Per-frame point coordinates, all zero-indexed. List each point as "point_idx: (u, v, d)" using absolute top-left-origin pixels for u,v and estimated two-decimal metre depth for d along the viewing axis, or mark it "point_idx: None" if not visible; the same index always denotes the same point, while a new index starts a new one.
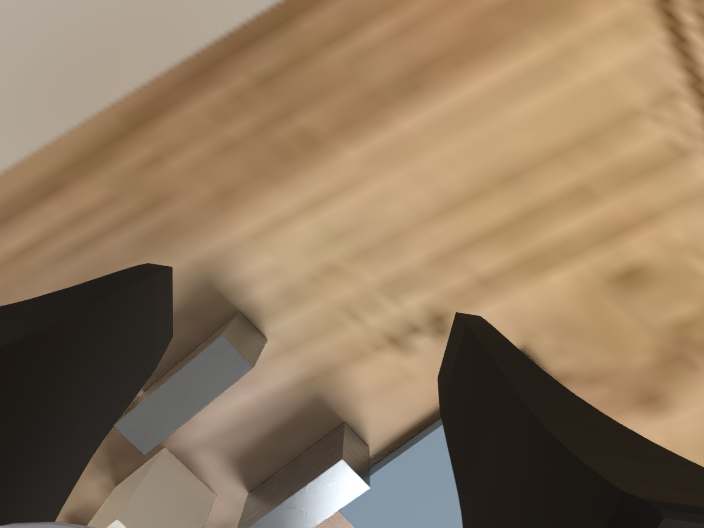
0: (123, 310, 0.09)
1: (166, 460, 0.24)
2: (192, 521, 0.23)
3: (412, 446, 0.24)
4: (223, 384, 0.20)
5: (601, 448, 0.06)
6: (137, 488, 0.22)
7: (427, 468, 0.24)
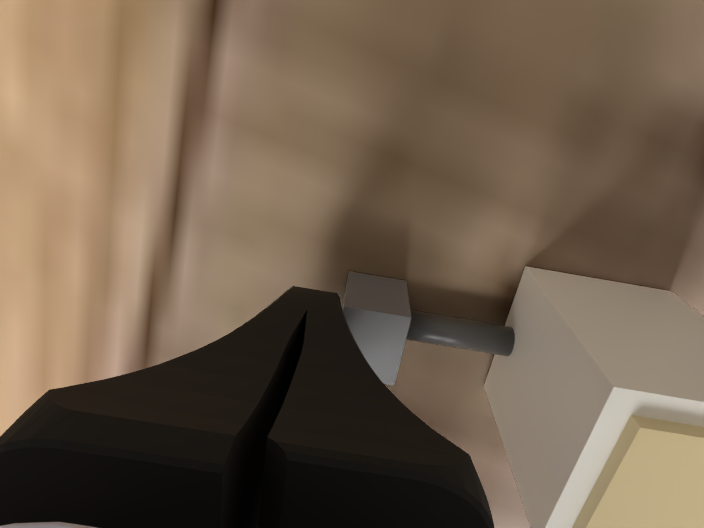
0: (299, 338, 0.09)
1: None
2: None
3: None
4: None
5: (325, 406, 0.06)
6: None
7: None
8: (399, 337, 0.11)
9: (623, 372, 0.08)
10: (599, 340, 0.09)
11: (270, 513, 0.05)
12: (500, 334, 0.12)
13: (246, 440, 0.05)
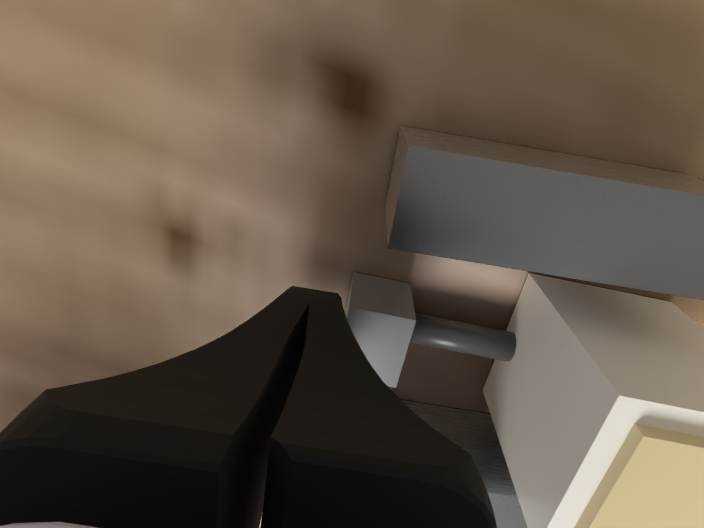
0: (297, 337, 0.09)
1: None
2: None
3: None
4: (661, 280, 0.09)
5: (329, 406, 0.06)
6: None
7: None
8: (403, 339, 0.11)
9: (627, 381, 0.08)
10: (604, 348, 0.09)
11: (273, 513, 0.05)
12: (502, 339, 0.12)
13: (243, 439, 0.05)
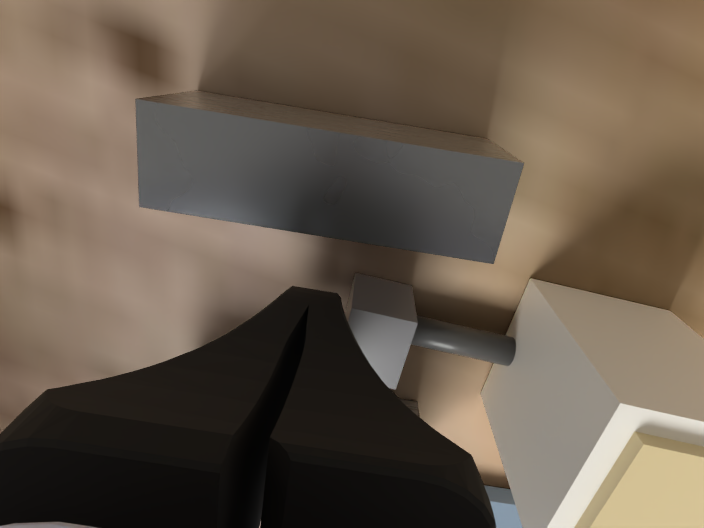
0: (297, 337, 0.09)
1: None
2: None
3: None
4: (416, 238, 0.09)
5: (328, 406, 0.06)
6: None
7: None
8: (404, 342, 0.11)
9: (628, 389, 0.08)
10: (604, 355, 0.09)
11: (273, 513, 0.05)
12: (502, 344, 0.12)
13: (244, 440, 0.05)
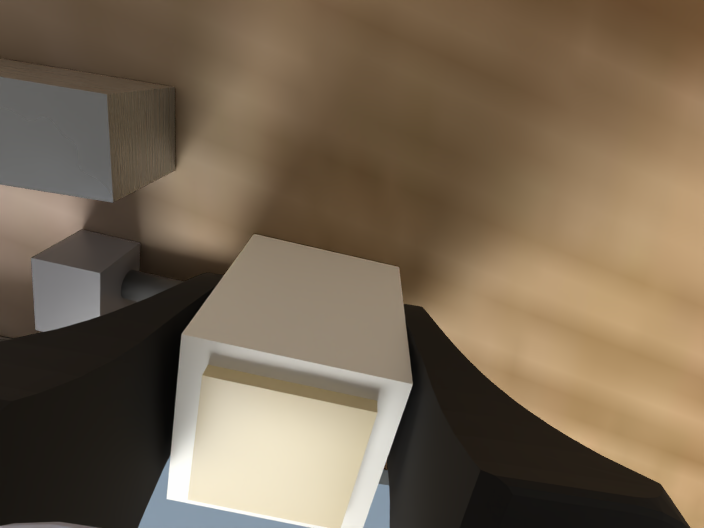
0: None
1: None
2: None
3: None
4: (29, 176, 0.09)
5: (491, 431, 0.06)
6: (402, 325, 0.10)
7: None
8: (93, 293, 0.11)
9: (214, 324, 0.08)
10: (235, 297, 0.09)
11: None
12: None
13: (54, 411, 0.05)
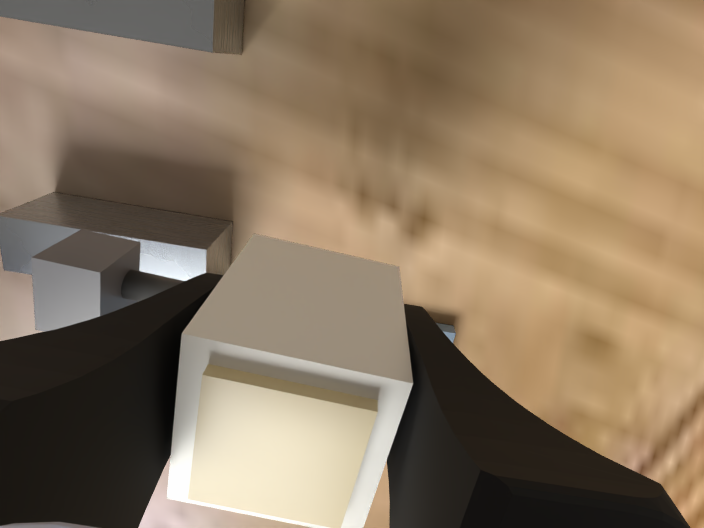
0: None
1: None
2: None
3: None
4: (155, 32, 0.13)
5: (490, 431, 0.06)
6: (402, 324, 0.10)
7: None
8: (93, 292, 0.11)
9: (214, 323, 0.08)
10: (235, 296, 0.09)
11: None
12: None
13: (55, 410, 0.05)
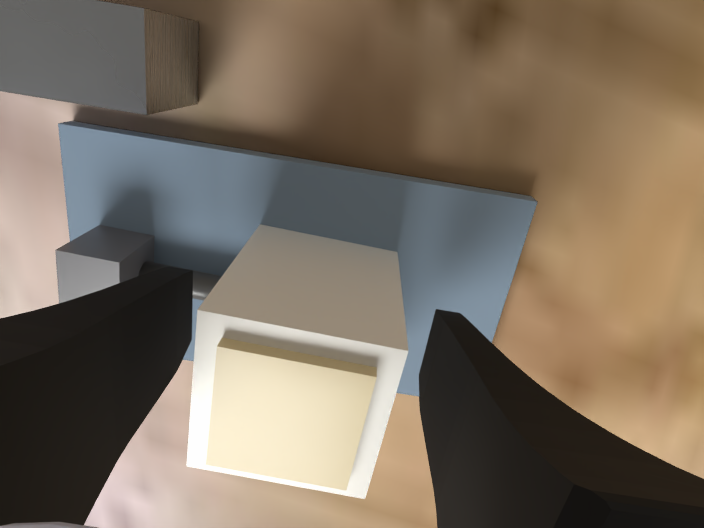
0: (148, 314, 0.09)
1: None
2: None
3: (265, 158, 0.12)
4: None
5: (562, 442, 0.06)
6: (400, 302, 0.10)
7: (253, 210, 0.13)
8: (113, 282, 0.12)
9: (226, 301, 0.09)
10: (244, 278, 0.10)
11: None
12: None
13: None
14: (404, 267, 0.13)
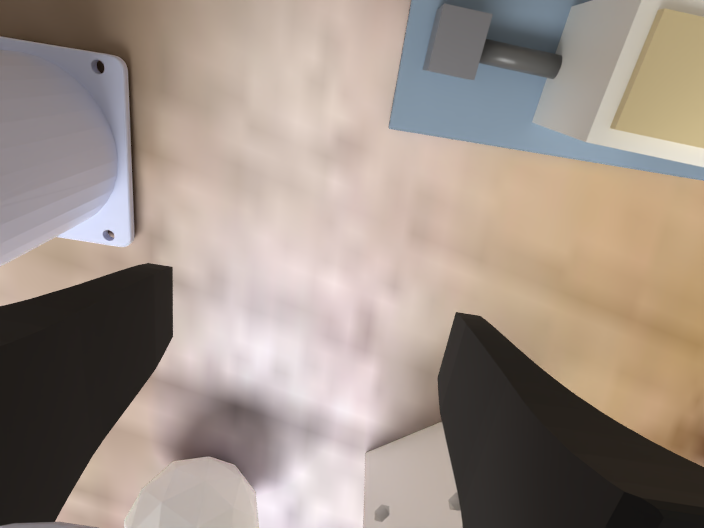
0: (123, 310, 0.09)
1: None
2: None
3: None
4: None
5: (601, 448, 0.06)
6: None
7: None
8: (482, 33, 0.15)
9: None
10: None
11: None
12: (551, 55, 0.16)
13: None
14: None
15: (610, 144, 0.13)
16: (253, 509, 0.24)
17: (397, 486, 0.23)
